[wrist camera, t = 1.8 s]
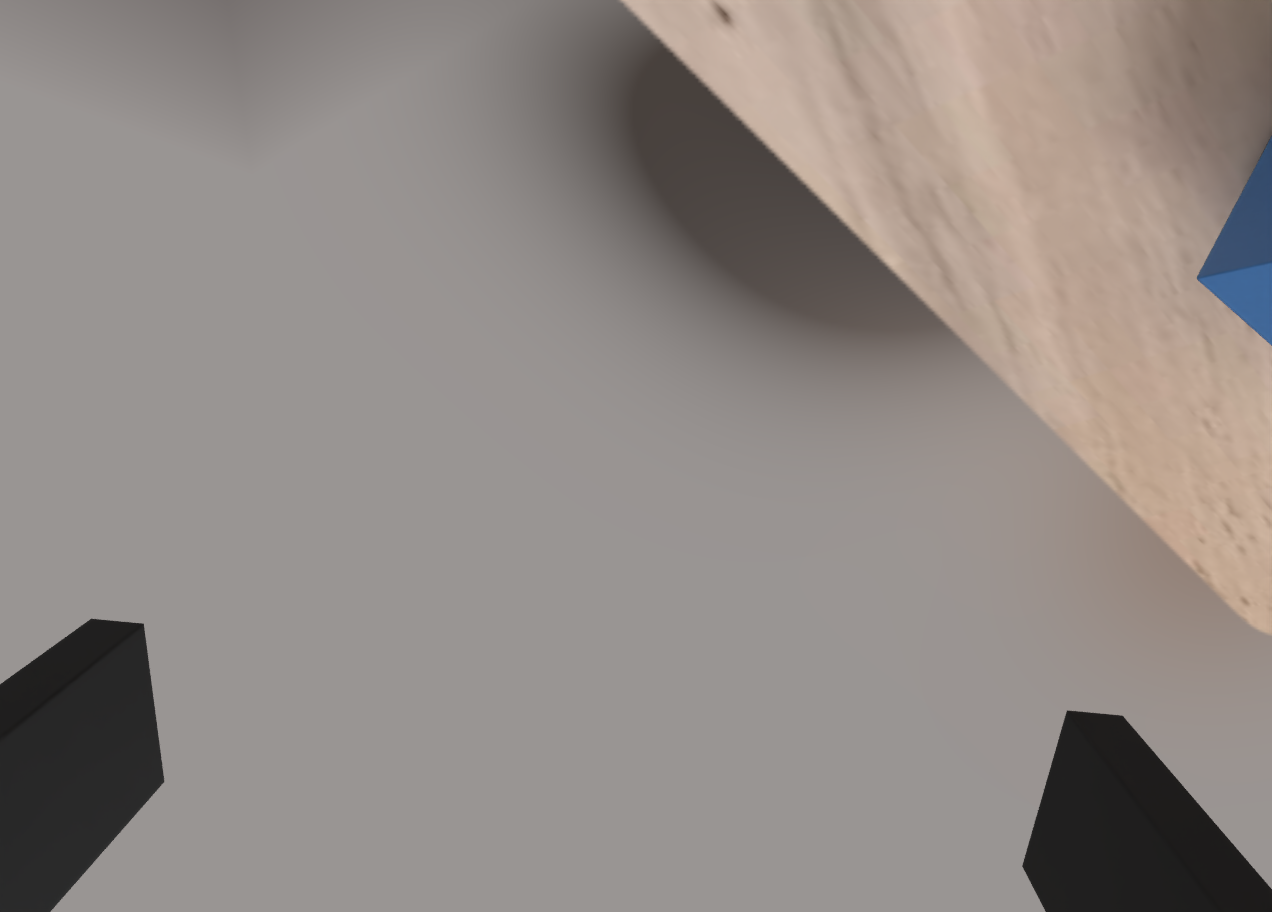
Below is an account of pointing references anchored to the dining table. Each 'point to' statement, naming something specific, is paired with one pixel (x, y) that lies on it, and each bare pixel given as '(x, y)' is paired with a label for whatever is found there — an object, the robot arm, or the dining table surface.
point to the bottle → (1246, 253)
